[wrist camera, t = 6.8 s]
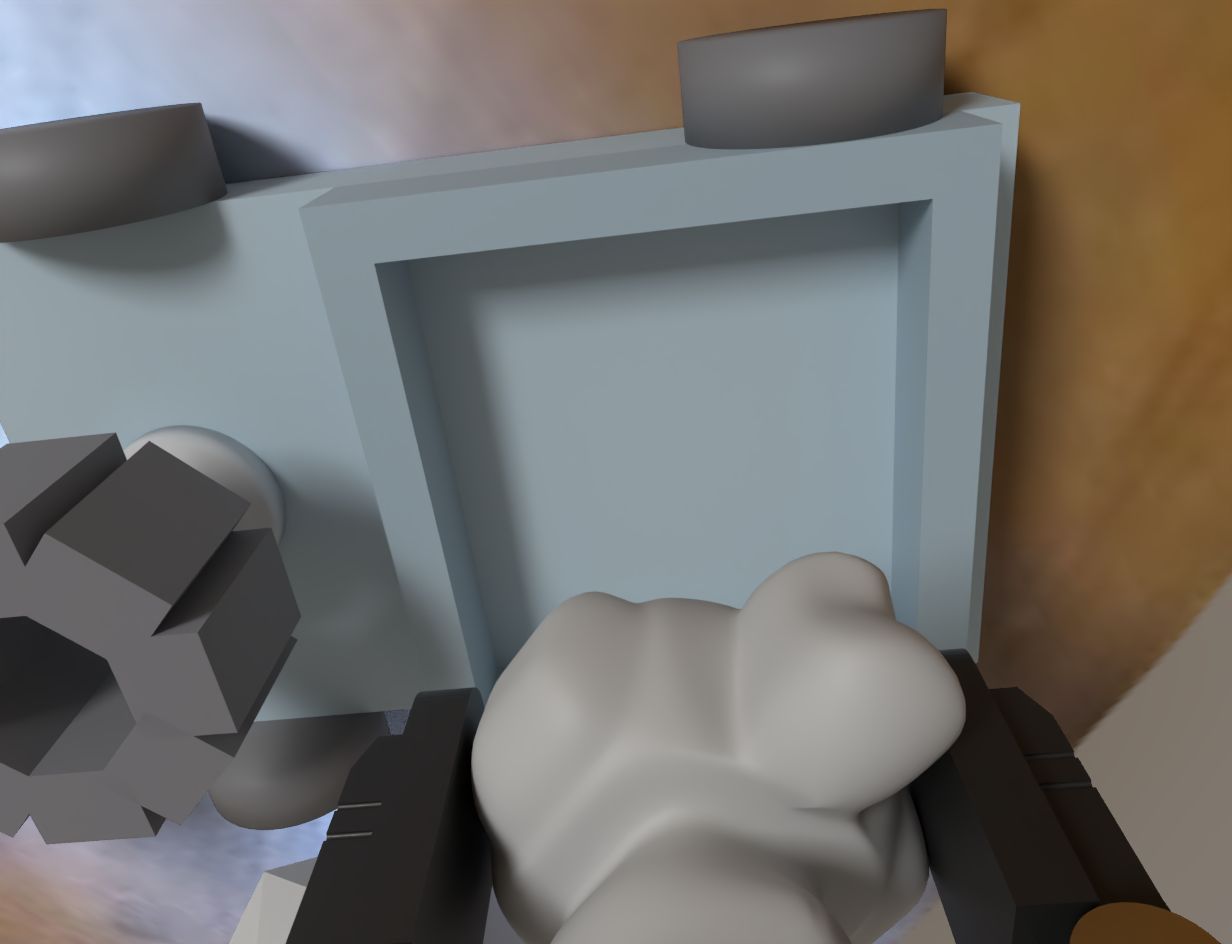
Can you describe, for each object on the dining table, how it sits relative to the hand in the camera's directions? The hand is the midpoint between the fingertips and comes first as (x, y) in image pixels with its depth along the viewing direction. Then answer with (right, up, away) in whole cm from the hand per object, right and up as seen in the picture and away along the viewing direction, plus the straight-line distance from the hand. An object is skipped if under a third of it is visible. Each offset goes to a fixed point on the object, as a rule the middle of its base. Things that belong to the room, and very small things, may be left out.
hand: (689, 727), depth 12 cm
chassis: (-3, +4, +10) cm, 11 cm away
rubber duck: (0, +1, +1) cm, 2 cm away
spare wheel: (-10, +1, +5) cm, 11 cm away
